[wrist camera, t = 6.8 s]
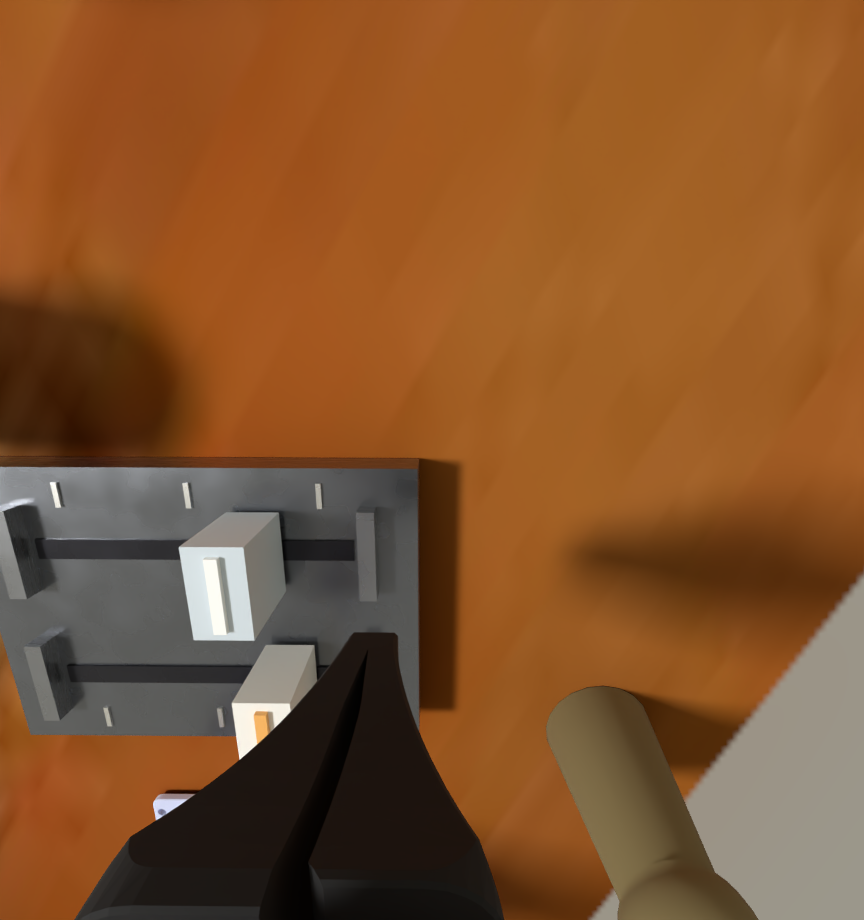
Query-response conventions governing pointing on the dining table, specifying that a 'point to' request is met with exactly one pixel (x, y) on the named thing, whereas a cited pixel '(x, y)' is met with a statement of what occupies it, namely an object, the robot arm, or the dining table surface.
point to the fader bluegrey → (233, 575)
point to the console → (163, 590)
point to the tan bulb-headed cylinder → (636, 811)
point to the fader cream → (272, 691)
